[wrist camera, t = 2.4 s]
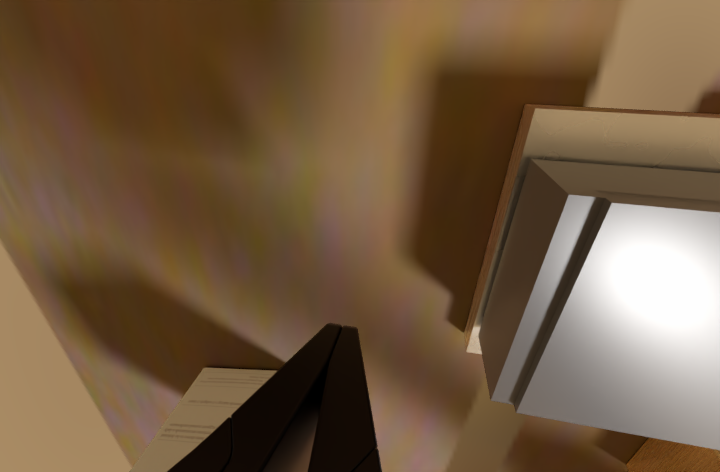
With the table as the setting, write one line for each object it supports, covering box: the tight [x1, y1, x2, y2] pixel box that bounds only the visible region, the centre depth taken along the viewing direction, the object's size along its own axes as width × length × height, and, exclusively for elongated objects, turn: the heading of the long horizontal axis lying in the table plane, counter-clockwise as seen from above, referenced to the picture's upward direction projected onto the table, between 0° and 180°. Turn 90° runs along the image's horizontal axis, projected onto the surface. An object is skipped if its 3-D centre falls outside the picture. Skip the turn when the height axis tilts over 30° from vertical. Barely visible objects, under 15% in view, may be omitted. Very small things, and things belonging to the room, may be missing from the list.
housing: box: [478, 159, 720, 450], centre depth 10 cm, size 8×8×4 cm
